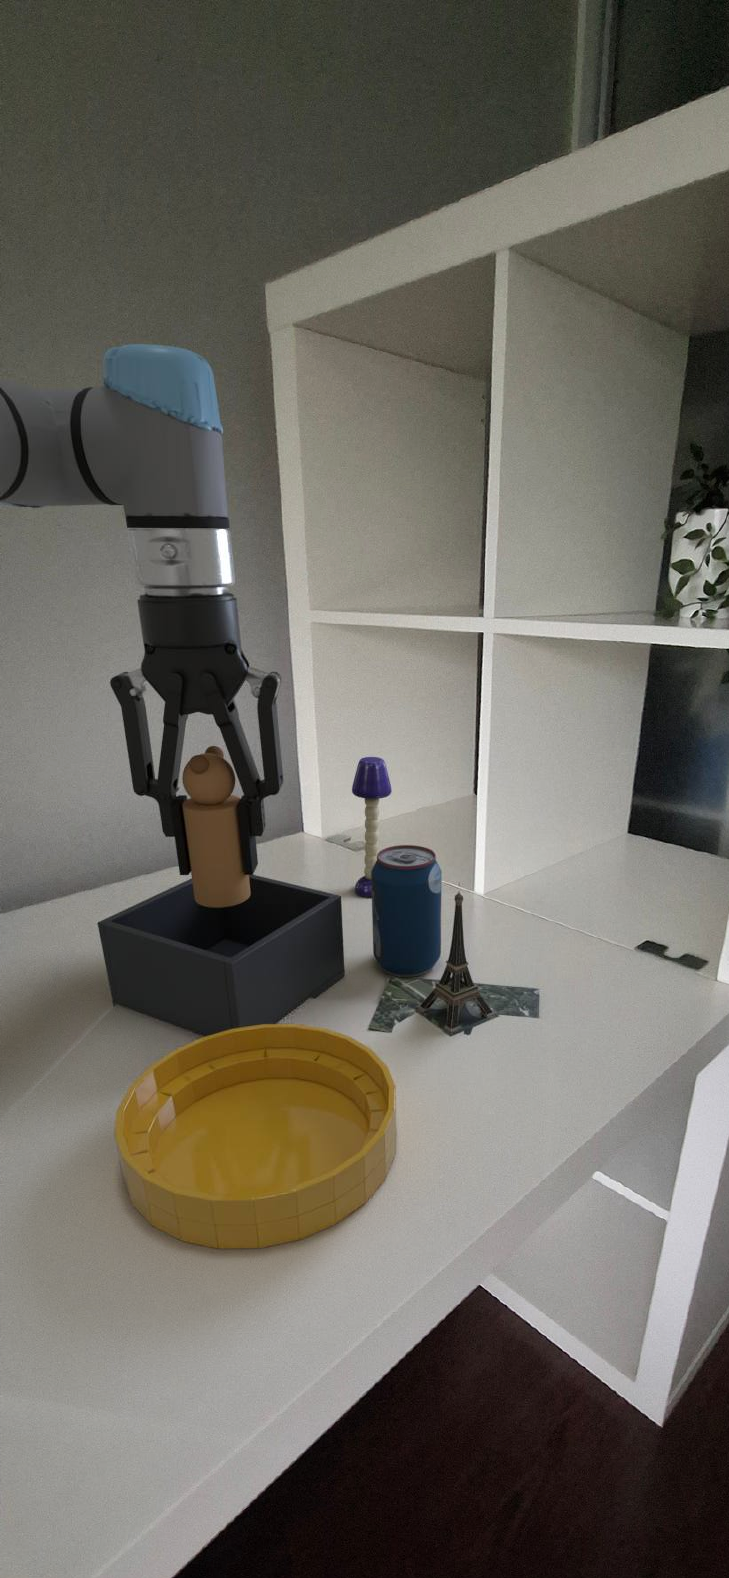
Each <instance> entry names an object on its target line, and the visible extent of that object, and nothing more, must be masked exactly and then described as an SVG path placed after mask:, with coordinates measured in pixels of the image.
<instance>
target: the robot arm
mask: <svg viewBox="0 0 729 1578" xmlns="http://www.w3.org/2000/svg"><path fill="white" fill-rule="evenodd" d="M102 361H103V362H102V363H103V364H102V365H103V366H102V367H103V375H102V381H103V383H102V385H94V386H89V387H73V388H71V387H69V388H68V387H67V388H65V387H64V388H61V387H60V388H47V387H46V388H43V387H33V386H29V385H25V384H21V383H17V382H13V381H10V380H4V379H1V378H0V505H2V506H12V507H16V508H31V509H42V508H44V507H70V506H72V507H73V506H95V505H96V506H98V505H100V506H101V505H108V506H122V507H123V512H124V516H125V524H126V533H127V537H128V545H129V550H130V551H129V552H130V557H131V564H132V570H133V579H134V584H135V585H136V586H137V587H138V588H143V591H144V594H141V595H139V596H138V597H139V599H137V600H136V602H137V607H138V615H139V622H140V630H141V636H142V643H143V649H144V653H143V654H144V655H143V658H142V660H141V663H140V667H139V668H137V669H134V670H131V671H123V672H121V673H119V674H117V675H115V676H112V677H111V679H110V680H109V685H110V688H111V690H112V692H113V693H114V696H115V698H116V700H117V701H118V704H119V705H120V708H121V716H122V723H123V731H124V736H125V742H126V743H125V744H126V749H127V756H128V762H129V769H130V776H131V783H132V790H133V792H134V793H135V795H136V796H140V797H143V796H146V797H149V798H152V799H154V800H155V801H156V802H157V804H158V810H159V816H160V822H161V829H162V833H163V835H164V836H165V838H174V843H175V849H176V850H175V851H176V855H177V856H176V857H177V864H178V871H179V876H189V875H190V873H191V867H190V860H189V852H188V845H187V838H186V830H185V823H184V815H183V808H182V804H183V802H184V801H185V800H187V799H188V794H187V795H185V794H183V795H182V794H180V795H179V794H178V795H177V793H178V791H179V790H180V787H179V781H180V780H179V779H180V772H181V765H182V758H183V749H184V742H185V733H186V727H187V726H186V725H187V721H188V719H189V715H192V714H196V713H200V714H205V715H210V716H211V715H212V716H213V719H214V723H215V725H216V726H217V727H218V728H219V731H220V733H221V736H222V739H223V742H224V745H225V747H226V750H227V753H228V756H229V758H230V760H231V763H232V767H233V768H234V769H233V770H234V773H235V775H236V777H237V780H238V782H239V785H240V788H241V790H242V793H243V794H242V795H241V797H240V800H239V802H238V803H237V810H238V819H239V829H240V838H241V848H242V857H243V867H244V875H254V873H255V871H256V869H257V868H258V864H259V858H258V849H257V839H256V837H262V836H263V835H264V832H265V829H266V826H267V823H266V810H265V801H264V800H265V798H267V797H270V796H276V795H278V794H279V793H280V790H281V788H282V786H283V785H284V771H283V760H282V749H281V748H282V747H281V739H280V727H279V717H278V716H279V715H278V706H277V700H278V696H279V692H280V688H281V684H282V675H281V674H280V672H277V671H270V672H267V671H264V670H261V669H258V668H255V667H253V666H250V663H249V660H248V659H247V657H246V656H245V654H244V651H243V648H242V640H241V630H240V619H239V608H238V598H237V597H235V595H234V593H231V592H230V591H229V587H232V586H234V585H235V583H236V572H235V564H234V554H233V543H232V534H231V529H230V519H229V511H228V510H229V509H228V500H227V499H228V498H227V497H228V496H227V486H226V474H225V473H226V471H225V461H224V460H225V459H224V449H223V448H224V447H223V437H222V434H224V427H223V425H222V423H221V416H220V411H219V403H218V397H217V391H216V383H215V376H214V371H213V370H212V368H211V367H212V366H211V365H210V364H209V362H208V361H207V360H206V359H205V358H204V357H203V356H202V355H200V354H198V353H197V352H194V351H192V350H190V349H186V348H182V347H178V346H171V345H170V346H169V345H162V344H147V343H135V344H134V343H132V344H124V345H123V344H122V345H121V346H115V347H111V348H109V349H108V350H107V351H106V352H105V354H104V356H103V360H102ZM245 682H248V684H249V685H250V692H251V694H252V696H253V697H254V698H256V699H257V706H256V707H257V708H256V709H257V721H258V722H257V723H258V731H259V741H260V751H261V761H262V771H263V779H261V775H260V773H259V770H258V768H257V764H256V762H255V759H254V756H253V754H252V751H251V748H250V745H249V742H248V740H247V739H248V738H247V737H246V734H245V731H244V728H243V725H242V723H241V720H240V714H239V710H238V707H237V704H236V701H235V698H236V697H237V695H238V693H239V691H240V690H241V688H242V686H243V685H244V684H245ZM146 683H148V685H150V686H151V688H153V690H154V691H155V693H157V695H159V697H160V698H161V699H162V700H163V701H164V707H163V717H162V723H163V728H162V729H163V731H162V736H161V747H160V754H159V761H158V762H159V764H158V770H157V771H158V772H157V778H156V774H155V765H154V758H153V752H152V745H151V737H150V729H149V722H148V721H149V720H148V716H147V715H148V713H147V707H146V701H145V698H144V696H145V695H146V693H147V686H146Z"/></svg>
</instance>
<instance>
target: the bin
mask: <svg viewBox="0 0 729 1578" xmlns="http://www.w3.org/2000/svg"><path fill="white" fill-rule="evenodd" d="M249 882H250V892H251V895H250V897H249V898H248V899H247V900H246V901H244V902H242V903H240V904H237V905H234V906H229V907H220V908H213V907H205V906H202V905H200V904H198V903H197V902H196V901H195V897H194V889H193V882H192V877H191V878H189V879H187V880H185V881H182V882H181V883H179V884H176V885H174V886H172V887H170V888H168V889H166V890H163V891H161V892H159V893H157V894H155V895H153V896H151V897H149V898H147V899H145V900H142V901H140V902H138V903H136V904H134V905H132V906H129V907H128V908H125V909H123V910H121V911H119V912H117V913H114V914H113V915H110V916H108V917H106V918H104V919H101V920H100V921H97V923H96V924H97V928H98V933H99V934H98V935H99V938H100V944H101V949H102V954H103V959H104V964H105V969H106V974H107V981H108V985H109V990H110V996H111V1000H112V1006H113V1007H115V1006H116V1005H118V1006H120V1007H123V1008H126V1009H128V1010H131V1011H134V1012H137V1013H139V1014H141V1015H145V1016H147V1017H151V1018H153V1019H156V1020H158V1021H161V1022H164V1023H167V1024H169V1025H171V1026H175V1027H177V1028H179V1029H183V1030H186V1031H188V1032H191V1033H194V1034H197V1035H199V1036H202V1037H206V1036H209V1035H213V1034H216V1033H219V1032H223V1031H226V1030H230V1029H234V1028H241V1027H248V1026H255V1025H262V1024H279V1022H281V1021H282V1020H283V1019H284V1018H286V1017H287V1016H289V1015H290V1014H292V1012H294V1011H295V1010H296V1009H298V1008H299V1007H300V1006H301V1005H303V1004H304V1003H306V1002H307V1001H308V1000H310V999H316V998H317V997H319V996H320V995H321V994H323V993H324V992H325V991H326V990H328V989H329V988H330V987H332V986H333V985H334V984H336V983H337V982H339V981H340V980H341V979H343V977H345V976H346V972H345V951H344V950H345V948H344V929H343V928H344V927H343V909H342V908H343V907H342V906H343V905H342V896H341V895H339V894H335V893H331V892H327V891H323V890H319V889H315V888H310V887H306V886H302V885H297V884H293V883H288V882H286V881H282V880H277V879H273V878H269V877H265V876H262V875H257V874H253V875H249Z"/></svg>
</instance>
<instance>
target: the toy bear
mask: <svg viewBox="0 0 729 1578" xmlns="http://www.w3.org/2000/svg"><path fill="white" fill-rule="evenodd" d="M181 777H182V786H183V788H184V791H185V793H186V794H187V796H189V797H190V798H187V800H185V801H184V802H183V804H182V808H183V815H184V823H185V830H186V838H187V845H188V852H189V860H190V867H191V872H190V873H191V878H192V882H193V889H194V897H195V901H196V902H197V903H198V904H200V905H202V906H205V907H213V908H220V907H229V906H234V905H237V904H240V903H242V902H244V901H246V900H247V899H248V898H249V897H250V895H251V892H250V882H249V875H244V867H243V857H242V848H241V838H240V829H239V819H238V810H237V803H238V802H239V800H240V799H241V797H238V796H236V795H234V794H233V793H234V790H235V787H236V773H235V770H234V769H233V766H232V765H231V764H230V762H229V761H228V760H227V759H225V755H224V751H223V750H222V749H221V747H219V746H217V745H210V746H209V747H207V748H206V749H205V751H204V753H200V754H196V755H193V756H191V758H190V760H188V761H187V763H186V764H185V766H184V769H183V771H182V776H181Z"/></svg>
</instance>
